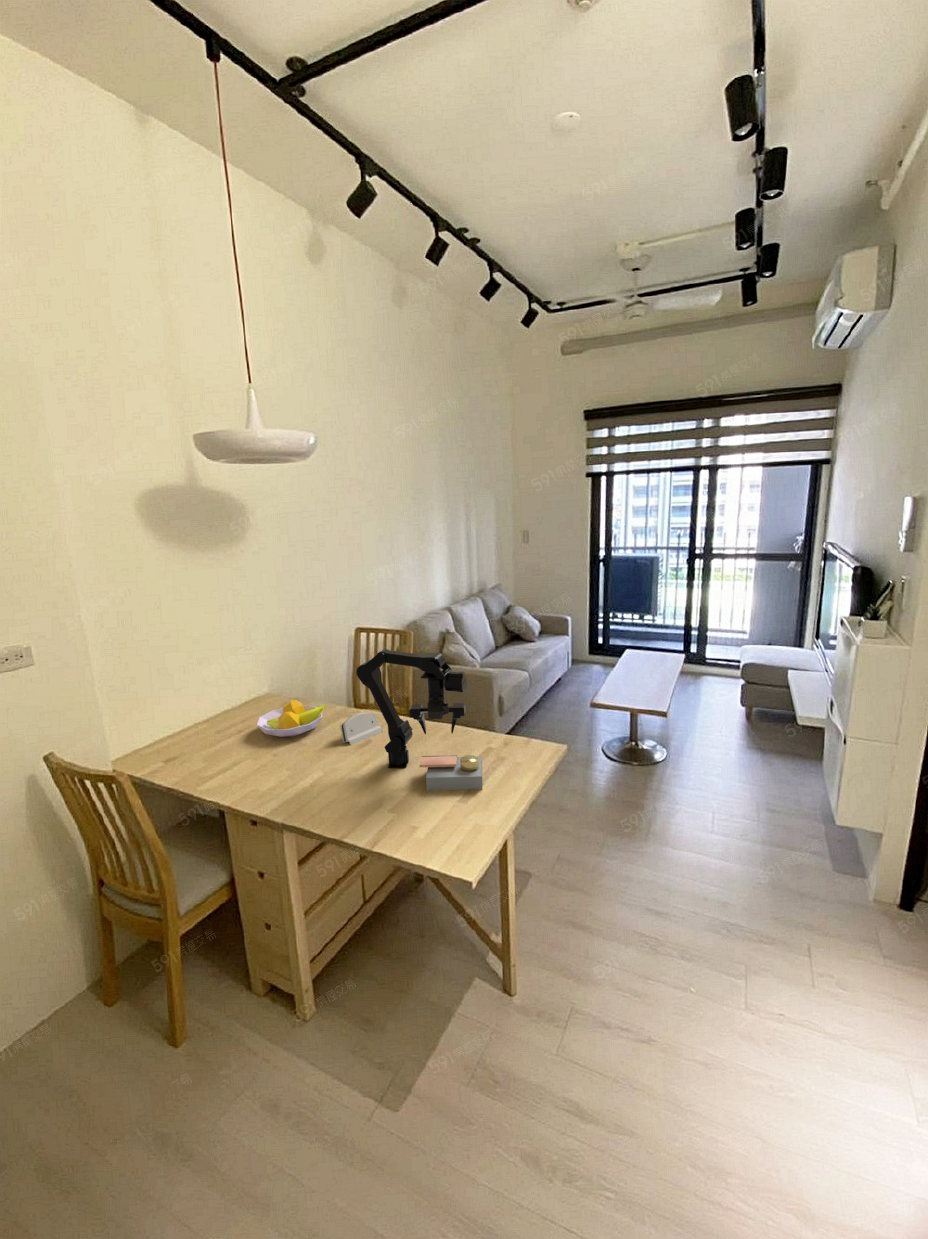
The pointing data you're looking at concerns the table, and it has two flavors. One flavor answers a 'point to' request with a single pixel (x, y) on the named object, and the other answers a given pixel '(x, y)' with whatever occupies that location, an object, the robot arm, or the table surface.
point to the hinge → (360, 728)
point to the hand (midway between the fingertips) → (438, 733)
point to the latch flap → (439, 761)
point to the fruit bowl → (290, 719)
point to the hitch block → (453, 777)
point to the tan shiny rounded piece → (469, 763)
